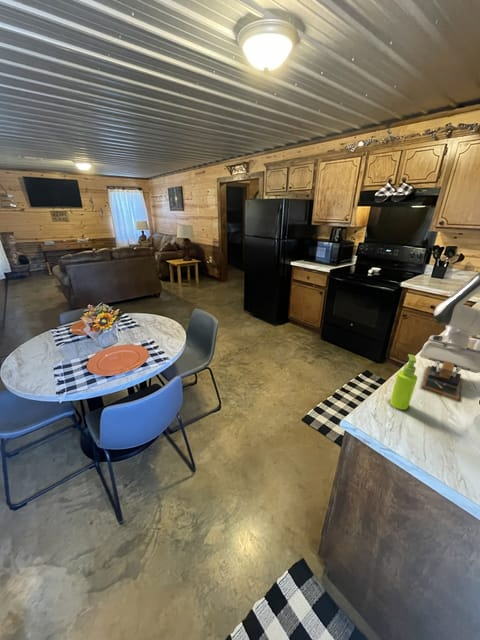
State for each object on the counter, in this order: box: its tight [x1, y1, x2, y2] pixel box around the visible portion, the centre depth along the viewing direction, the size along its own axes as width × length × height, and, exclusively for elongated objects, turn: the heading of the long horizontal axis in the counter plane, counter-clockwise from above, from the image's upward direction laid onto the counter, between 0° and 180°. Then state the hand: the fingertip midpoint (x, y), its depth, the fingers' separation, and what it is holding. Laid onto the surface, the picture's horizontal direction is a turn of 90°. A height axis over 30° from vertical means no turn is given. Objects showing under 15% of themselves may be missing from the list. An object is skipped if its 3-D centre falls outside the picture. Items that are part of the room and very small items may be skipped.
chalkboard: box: [421, 365, 461, 401], centre depth 111 cm, size 20×12×1 cm, turn 141°
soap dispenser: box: [389, 353, 418, 411], centre depth 95 cm, size 6×7×20 cm
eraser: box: [428, 361, 462, 387], centre depth 107 cm, size 10×5×8 cm, turn 51°
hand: (445, 374), depth 106 cm, fingers closed on eraser, 3 cm apart
